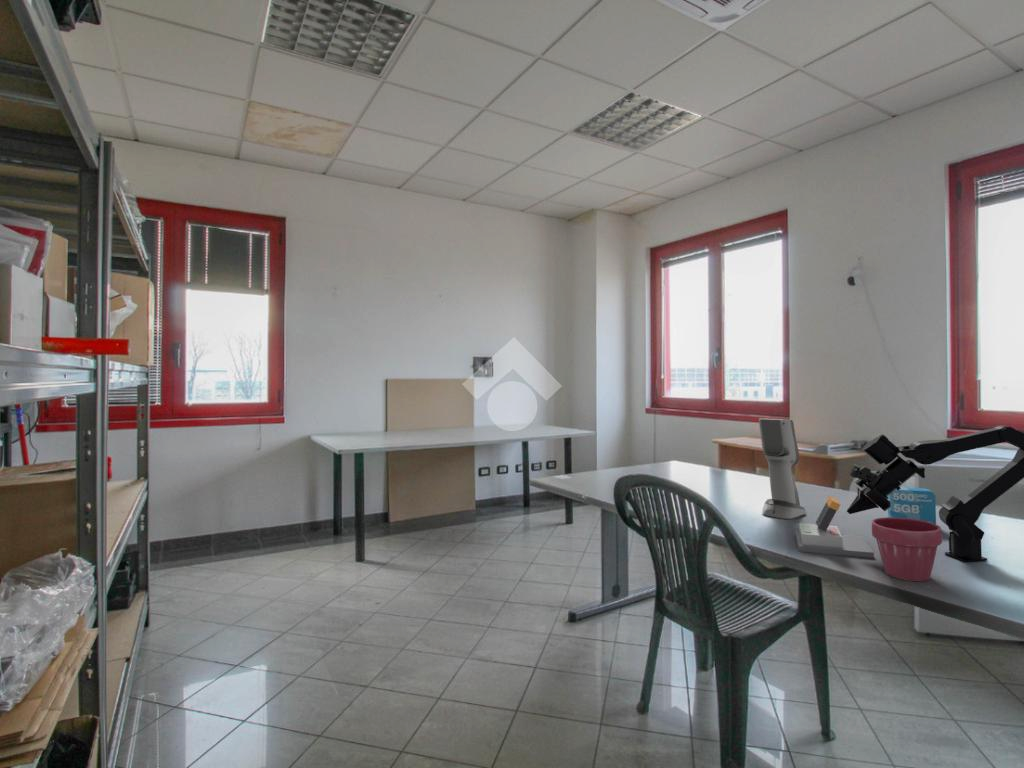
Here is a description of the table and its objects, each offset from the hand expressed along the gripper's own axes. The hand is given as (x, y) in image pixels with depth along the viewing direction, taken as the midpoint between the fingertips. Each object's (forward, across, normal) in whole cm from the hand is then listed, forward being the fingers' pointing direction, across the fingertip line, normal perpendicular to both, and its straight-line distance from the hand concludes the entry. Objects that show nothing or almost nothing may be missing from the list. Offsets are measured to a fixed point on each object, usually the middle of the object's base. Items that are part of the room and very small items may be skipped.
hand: (848, 512), depth 155 cm
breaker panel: (+10, 0, +4) cm, 11 cm away
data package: (-8, -31, +22) cm, 39 cm away
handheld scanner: (+18, -35, -4) cm, 40 cm away
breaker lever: (+9, 0, -2) cm, 9 cm away
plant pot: (0, +19, +14) cm, 24 cm away
